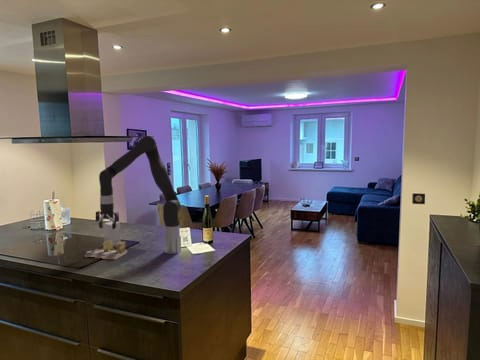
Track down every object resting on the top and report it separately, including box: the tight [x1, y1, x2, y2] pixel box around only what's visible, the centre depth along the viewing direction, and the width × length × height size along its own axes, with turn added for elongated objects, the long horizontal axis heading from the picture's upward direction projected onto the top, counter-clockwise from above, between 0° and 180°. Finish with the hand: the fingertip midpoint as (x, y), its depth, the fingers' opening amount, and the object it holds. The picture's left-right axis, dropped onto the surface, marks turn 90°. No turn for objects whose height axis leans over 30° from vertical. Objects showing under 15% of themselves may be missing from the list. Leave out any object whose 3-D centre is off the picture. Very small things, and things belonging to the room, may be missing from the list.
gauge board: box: [84, 241, 128, 260], centre depth 192 cm, size 20×13×8 cm, turn 80°
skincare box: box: [103, 221, 122, 247], centre depth 210 cm, size 8×7×16 cm
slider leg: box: [101, 240, 114, 252], centre depth 192 cm, size 3×8×6 cm, turn 170°
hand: (107, 228), depth 193 cm, fingers open, 8 cm apart
